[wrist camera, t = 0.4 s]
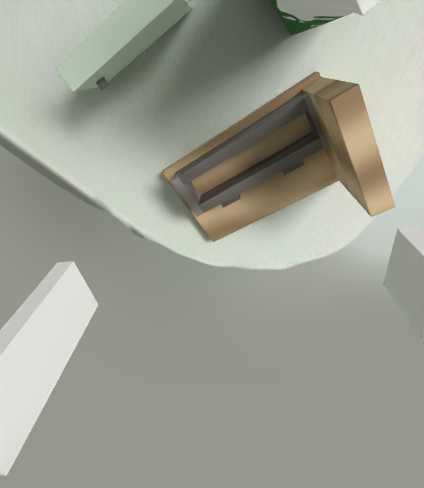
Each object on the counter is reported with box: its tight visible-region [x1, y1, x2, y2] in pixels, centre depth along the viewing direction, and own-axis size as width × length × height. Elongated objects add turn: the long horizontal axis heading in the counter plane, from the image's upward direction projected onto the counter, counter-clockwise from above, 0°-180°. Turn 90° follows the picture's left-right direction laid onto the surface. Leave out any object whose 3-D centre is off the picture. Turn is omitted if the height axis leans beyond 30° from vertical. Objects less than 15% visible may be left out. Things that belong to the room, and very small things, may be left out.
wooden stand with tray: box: [163, 72, 395, 242], centre depth 29 cm, size 12×20×11 cm, turn 122°
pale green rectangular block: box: [56, 0, 192, 92], centre depth 25 cm, size 3×12×7 cm, turn 122°
